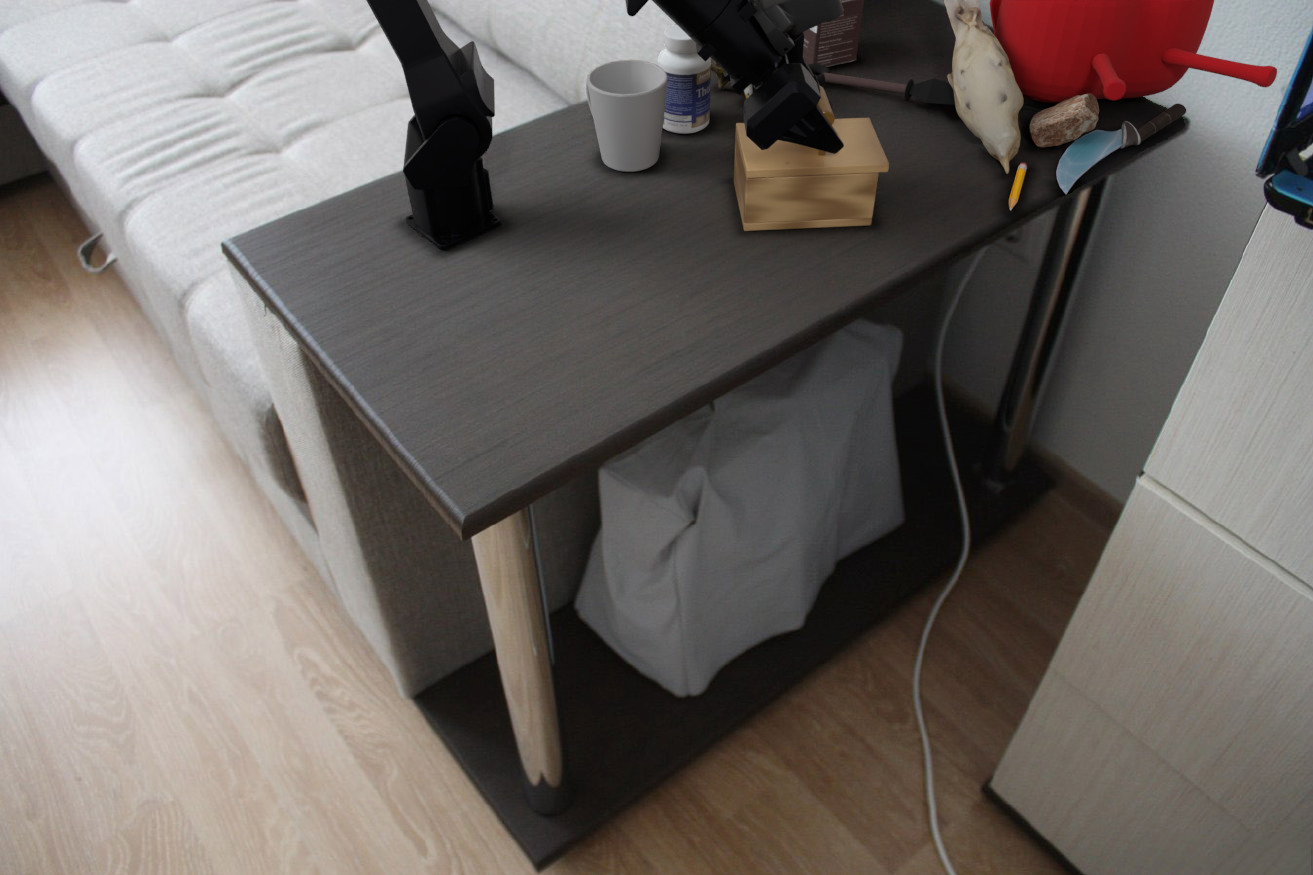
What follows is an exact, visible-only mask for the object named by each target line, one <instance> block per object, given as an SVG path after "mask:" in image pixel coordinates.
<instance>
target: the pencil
mask: <svg viewBox="0 0 1313 875" xmlns="http://www.w3.org/2000/svg"><path fill="white" fill-rule="evenodd" d="M1027 169H1028V165H1027V163H1026V162H1020V163H1019V165H1018V167H1017V170H1016V174H1015V177H1014V181H1013V184H1012V187H1011V191H1010V194H1009V198H1008V208H1009V211H1010V212H1011V211H1012V210H1013V208H1014V207H1015V206H1016V205H1017V203H1018V201H1019V198H1020V194H1021V190H1022V187H1023V184H1024V180H1025V177H1026V173H1027Z"/></svg>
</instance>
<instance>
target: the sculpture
mask: <svg viewBox="0 0 1313 875" xmlns="http://www.w3.org/2000/svg"><path fill="white" fill-rule="evenodd" d="M943 2H944V5H945V9H946V13H947V15H948V19H949V22H950V26H951V28H952V30H953V33H954V36H955V42H954V48H953V53H952V60H951V65H952V66H951V70H952V71H951V73H948V74H947V75H946V78H947V81H948V83H950V85H951V86H952V88H953V90H954V99H955V106H956V108H955V110H956V113H957V116H958V117H959V119H961V121H962V122H963V123H964V125H965V126H966V127H967V129H968V130H969V131H970V132H971V133H972V134H973V136H974V137H975V138H977V139H980V141H981V142H982V145H983V147H984V148H985V149H986V151H987V152H988V154H989V155H990V156H991V157H993V159H995V160H997V161H998V162H1000V164H1001V166H1002V167H1003V170H1004V172H1005V174H1006V175H1008V174H1009V172H1010V162H1011V161H1012V160H1013V159H1014V158H1015V157H1016V155H1017V154H1018V152H1019V148H1020V147H1021V146H1020V145H1021V130H1020V126H1019V113H1020V111H1021V110H1020V109H1021V108H1022V106H1023V105H1024V96H1023V94H1022V92H1021V91H1020V89H1019V87H1018V85H1017V83H1016V81H1015V77H1014V74H1013V71H1012V69H1011V66H1010V63H1009V59H1008V57H1007V54H1006V53H1005V52H1004V50H1003V48H1002V46H1001V44H1000V42H999V41H998V39H997V38H996V37H995V34H994V32H992V30H991V29H990V28H989V27H988V25H987V24H986V23H985V22H984V20H983V16H982V12H981V6H980V1H979V0H943Z"/></svg>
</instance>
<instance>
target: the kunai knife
mask: <svg viewBox="0 0 1313 875" xmlns="http://www.w3.org/2000/svg"><path fill="white" fill-rule="evenodd" d="M808 65H809V67H810V69H811V71H812V72H813V74H818V75H816V77H817V80H818V83H819V84H820V85H822V84H824V83H829V84H834V85H840V86H841V85H842V86H848V87H855V88H860V89H868V90H874V91H881V92H887V93H893V94H899V95H904V99H905V101H906V102H909V100H910V99H911V98H912V97H914V98H915V99H916V100H919V101H921V102H922V103H924V104H926V105H927V106H929V107H931V108H941V109H956V106H955V99H954V90H953V88H952V86H951V85H950V83H949V81H948V82H947V81H944V80H942V79H937V78H929V79H926V80H924V81H921V82H917V83H915V82H914V80H913V78H911V79H909V80H908V82H907V83H906V84H905V83H898V82H892V81H886V80H879V79H871V78H865V77H859V76H852V75H845V74H839V73H833V72H832V73H831V71H830V67H826V66H824V65H821V64H808ZM1042 110H1043V109H1039V108H1035V107H1031V106H1028V105H1025V104H1023V106H1022V108H1021V109H1020V111H1039V112H1040V111H1042Z"/></svg>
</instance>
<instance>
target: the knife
mask: <svg viewBox="0 0 1313 875" xmlns="http://www.w3.org/2000/svg"><path fill="white" fill-rule="evenodd" d="M1186 113H1187V108H1186V106H1185V105H1184V104H1182V103H1174V104H1173V105H1171V106H1170V107H1168V108H1167V109H1165V110H1164V111H1162V112H1161V113H1160V114H1158V115H1157V116H1155V117H1154V118H1152V119H1151V120H1150V121H1147V123H1145V124H1143V125H1142V126H1140V128H1138V129H1137V128H1136V127H1135V126H1134V125H1133V123H1131V122H1130V121H1127V120H1125V121H1123V122H1122V124H1121V127H1120V129H1118V130H1113V131H1110V130H1109V131H1108V130H1101V129H1096V130H1092V131H1090V132H1087V133H1085V134H1083V135H1081V136H1080V137H1078V138H1077V139H1075V140H1073V142H1072V143H1071V144H1070V145H1069V146H1068V147H1067V148H1066V150H1065V151H1064V153H1063V154H1062V156H1061V157H1060V159H1059V160H1058V164H1057V167H1056V170H1055V174H1056V180H1057V184H1058V186H1059V188H1060V189H1061V190H1062V192H1063V193H1064V194H1065V195H1067V194H1068V192H1069V191H1070V190H1071V188H1072V187H1073V186H1074V185H1075V183H1076V182H1077V181H1078V180H1079V179H1080V178H1081V177H1082V176H1083V175H1084V174H1085V173H1086V172H1088V171H1090V170H1091V168H1092V167H1094V166H1095V165H1096V164H1097V163H1099V162H1100V161H1102V160H1103V159H1104V158H1106V157H1107V156H1109V155H1110V154H1111V153H1113V152H1115V151H1117V150H1118V149H1120V150H1123V149H1124V148H1128V147H1131V146H1135V147H1136V146H1140V144H1141V143H1142V142H1144V141H1145V140H1146V139H1147V140H1148V138H1150V137H1151V136H1153V135H1154V134H1156V133H1158V132H1159V131H1161V130H1162V129H1165V127H1167V126H1168V125H1170V124H1172V123H1173V122H1175V121H1176V120H1178V119H1180V118H1181V117H1183V116H1185V115H1186Z"/></svg>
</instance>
